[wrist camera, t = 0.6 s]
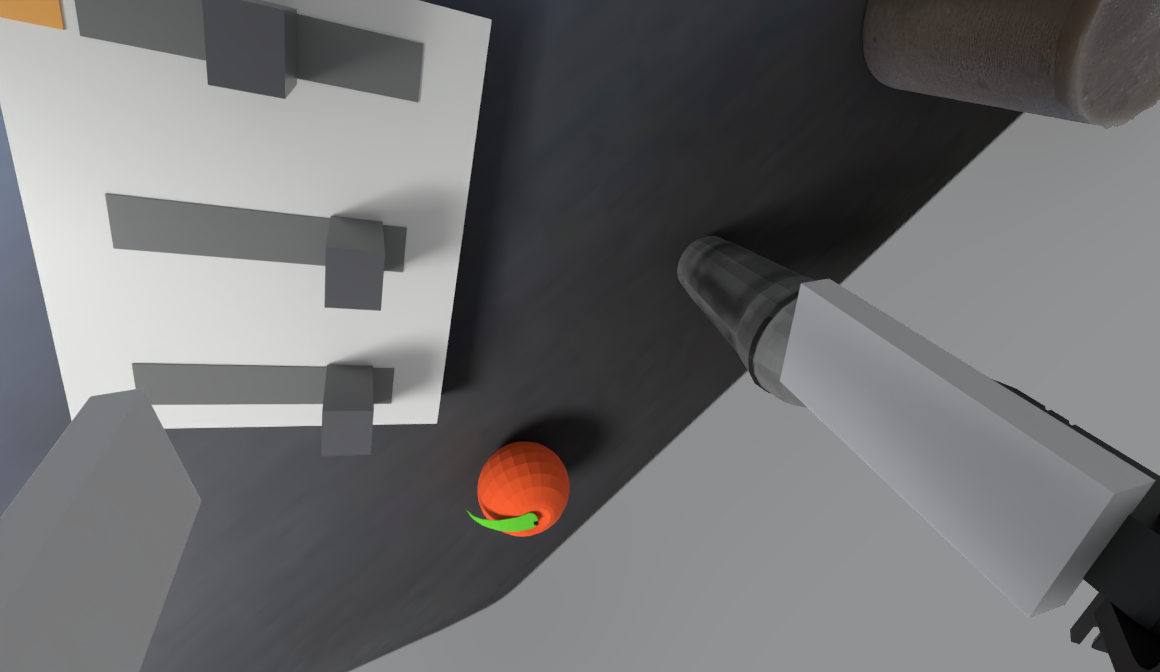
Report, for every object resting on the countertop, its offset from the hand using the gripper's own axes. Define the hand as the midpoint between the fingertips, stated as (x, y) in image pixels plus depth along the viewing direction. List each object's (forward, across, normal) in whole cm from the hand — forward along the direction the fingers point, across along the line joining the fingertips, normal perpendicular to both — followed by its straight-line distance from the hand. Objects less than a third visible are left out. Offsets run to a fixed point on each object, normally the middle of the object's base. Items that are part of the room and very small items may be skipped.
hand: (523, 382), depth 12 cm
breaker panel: (+24, -9, -3) cm, 25 cm away
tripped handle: (+20, -7, +5) cm, 22 cm away
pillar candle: (+25, +32, +6) cm, 41 cm away
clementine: (+24, +2, -25) cm, 35 cm away
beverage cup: (+24, +18, -10) cm, 32 cm away
